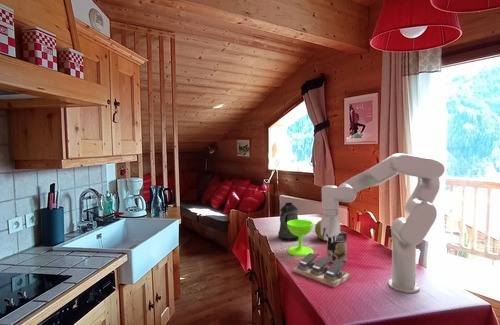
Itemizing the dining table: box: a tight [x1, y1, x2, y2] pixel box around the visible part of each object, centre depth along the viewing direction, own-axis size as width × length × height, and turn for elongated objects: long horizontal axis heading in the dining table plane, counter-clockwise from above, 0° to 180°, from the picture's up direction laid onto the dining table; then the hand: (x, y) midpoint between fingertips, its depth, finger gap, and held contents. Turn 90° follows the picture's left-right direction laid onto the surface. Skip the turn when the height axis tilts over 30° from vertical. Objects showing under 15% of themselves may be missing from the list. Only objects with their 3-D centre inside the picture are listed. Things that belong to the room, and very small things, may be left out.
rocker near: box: [325, 260, 345, 278], centre depth 142 cm, size 10×4×1 cm, turn 132°
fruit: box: [314, 220, 326, 241], centre depth 202 cm, size 16×14×15 cm
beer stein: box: [277, 202, 299, 242], centre depth 206 cm, size 16×19×25 cm
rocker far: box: [298, 253, 318, 267], centre depth 154 cm, size 10×4×1 cm, turn 132°
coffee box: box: [326, 229, 348, 264], centre depth 166 cm, size 9×6×16 cm
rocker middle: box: [311, 256, 331, 272], centre depth 148 cm, size 10×4×1 cm, turn 132°
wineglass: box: [286, 219, 315, 257], centre depth 180 cm, size 16×16×18 cm
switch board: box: [293, 260, 351, 288], centre depth 148 cm, size 14×24×5 cm, turn 42°
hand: (331, 249), depth 139 cm, fingers closed
